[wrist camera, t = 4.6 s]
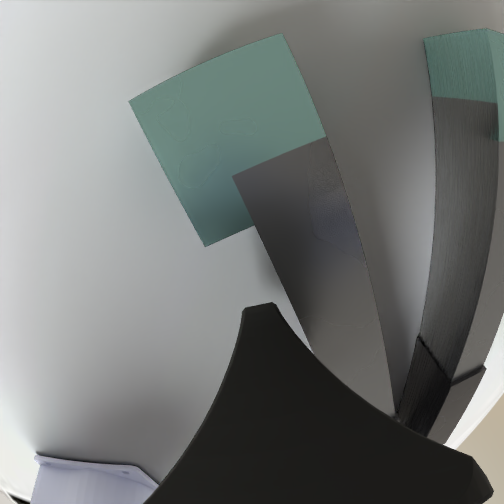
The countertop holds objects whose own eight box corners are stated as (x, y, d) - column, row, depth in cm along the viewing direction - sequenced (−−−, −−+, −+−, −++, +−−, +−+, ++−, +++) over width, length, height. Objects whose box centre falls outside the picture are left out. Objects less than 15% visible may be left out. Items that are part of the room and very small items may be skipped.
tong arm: (406, 435, 16) (423, 473, 13) (348, 461, 17) (361, 501, 14) (312, 41, 7) (366, 8, 4) (160, 103, 7) (121, 101, 4)
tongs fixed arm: (435, 399, 15) (457, 437, 13) (396, 416, 15) (415, 457, 12) (479, 48, 7) (544, 48, 4) (420, 38, 7) (489, 27, 4)
